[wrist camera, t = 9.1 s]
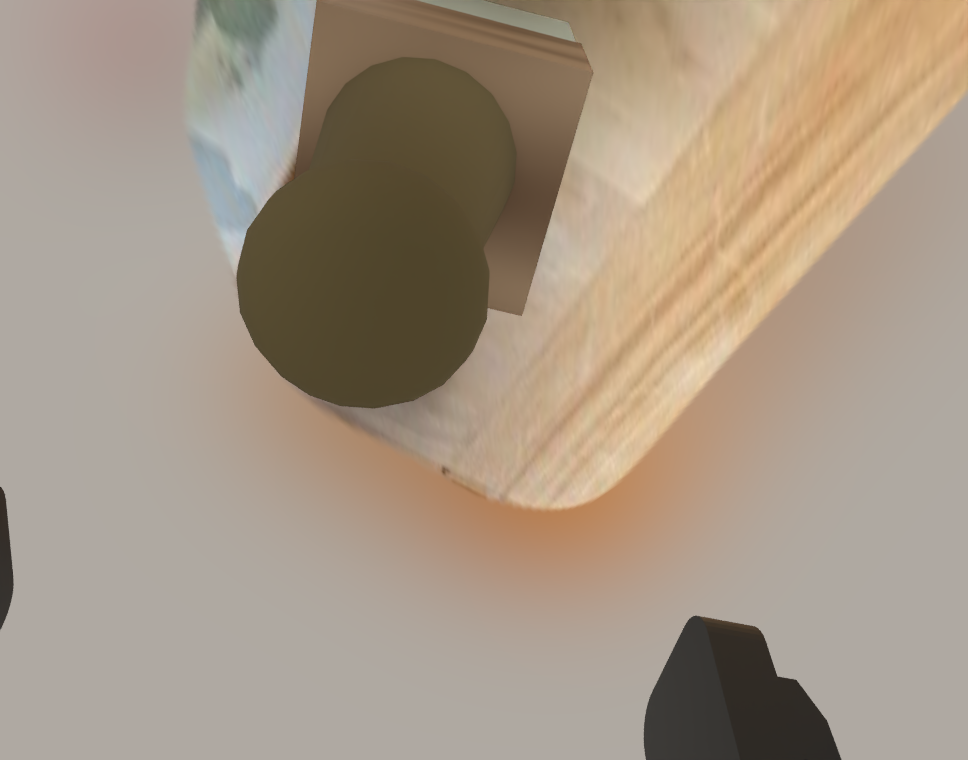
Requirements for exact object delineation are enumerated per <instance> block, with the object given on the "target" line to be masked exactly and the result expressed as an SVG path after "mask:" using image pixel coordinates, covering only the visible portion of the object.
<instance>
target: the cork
mask: <svg viewBox="0 0 968 760" xmlns="http://www.w3.org/2000/svg"><path fill="white" fill-rule="evenodd" d="M516 155H517V152H516V148H515V144H514V140H513V136H512V132H511V128H510V123H509V121H508V119H507V118H506V116H505V114H504V113H503V111H502V109H501V108H500V106H499V105H498V103H497V101H496V100H495V98H494V96H493V95H492V93H490V92H489V91H488V90H487V89H486V88H485V87H483V86H482V85H481V84H480V83H479V82H478V81H476V80H475V79H474V78H473V77H472V76H471V75H469V74H468V73H467V72H465V71H463V70H460V69H458V68H456V67H453V66H451V65H448V64H446V63H444V62H441V61H439V60H436V59H426V58H411V57H400V58H397V59H393V60H389V61H386V62H382V63H379V64H375V65H371V66H370V67H368V68H367V69H366V70H364V71H363V72H361V73H360V74H358V75H357V76H356V77H354V78H353V79H351V80H350V81H349V82H347V83H346V84H345V85H344V86H343V88H342V89H341V91H340V92H339V93H338V95H337V96H336V98H335V99H334V101H333V102H332V103H331V105H330V106H329V108H328V109H327V112H326V115H325V119H324V122H323V125H322V128H321V132H320V135H319V138H318V141H317V145H316V148H315V151H314V154H313V158H312V161H311V164H310V167H309V170H307V171H305V172H304V173H302V174H301V175H299V176H298V177H297V178H295V179H294V180H292V181H291V182H289V183H288V184H286V185H285V186H283V187H282V188H280V189H279V190H277V191H276V192H275V193H274V194H273V196H272V197H271V198H270V199H269V200H268V201H267V203H266V204H265V206H264V207H263V208H262V210H261V211H260V213H259V214H258V216H257V217H256V218H255V220H254V221H253V223H252V224H251V225H250V227H249V228H248V230H247V233H246V237H245V241H244V244H243V248H242V252H241V256H240V260H239V264H238V271H237V287H238V296H239V306H240V313H241V315H242V318H243V320H244V322H245V324H246V327H247V329H248V331H249V333H250V336H251V338H252V340H253V342H254V344H255V346H256V347H257V348H258V350H259V351H260V352H261V353H262V354H263V356H264V357H265V358H266V359H267V360H268V361H269V363H270V364H271V365H272V366H273V367H274V368H275V369H276V371H277V372H278V373H279V374H280V375H281V376H282V377H283V378H285V379H286V380H288V381H289V382H291V383H292V384H294V385H295V386H297V387H298V388H299V389H301V390H302V391H304V392H305V393H307V394H308V395H311V396H313V397H316V398H319V399H322V400H325V401H328V402H331V403H334V404H337V405H339V406H348V407H362V408H379V407H384V406H389V405H394V404H399V403H404V402H409V401H414V400H415V399H417V398H419V397H421V396H423V395H425V394H427V393H428V392H430V391H432V390H434V389H436V388H438V387H440V386H441V385H443V384H444V383H445V382H446V381H447V380H448V379H449V378H450V377H451V376H452V375H453V374H454V372H455V371H456V370H457V369H458V368H459V367H460V366H461V365H462V364H463V363H464V362H465V361H466V359H467V358H468V357H469V355H470V354H471V353H472V351H473V349H474V347H475V345H476V343H477V340H478V338H479V336H480V333H481V331H482V329H483V327H484V324H485V322H486V320H487V308H488V293H489V277H490V271H489V267H488V263H487V260H486V256H485V253H484V247H485V245H486V243H487V241H488V239H489V237H490V235H491V233H492V231H493V229H494V227H495V225H496V224H497V222H498V220H499V218H500V216H501V214H502V212H503V210H504V207H505V205H506V203H507V200H508V198H509V195H510V193H511V191H512V188H513V186H514V182H515V169H516Z"/></svg>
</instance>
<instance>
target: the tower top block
mask: <svg viewBox="0 0 968 760" xmlns="http://www.w3.org/2000/svg"><path fill="white" fill-rule="evenodd" d="M400 57H411V58H426V59H436V60H439V61H441V62H444V63H446V64H448V65H451V66H453V67H456V68H458V69H460V70H463V71H465V72H467V73H468V74H469V75H471V76H472V77H473V78H474V79H475V80H476V81H478V82H479V83H480V84H481V85H482V86H483V87H485V88H486V89H487V90H488V91H489V92H490V93H492V95H493V96H494V98H495V100H496V101H497V103H498V105H499V106H500V108H501V109H502V111H503V113H504V114H505V116H506V118H507V119H508V121H509V123H510V128H511V132H512V136H513V140H514V144H515V148H516V152H517V155H516V169H515V182H514V186H513V188H512V191H511V193H510V195H509V198H508V200H507V203H506V205H505V207H504V210H503V212H502V214H501V216H500V218H499V220H498V222H497V224H496V225H495V227H494V229H493V231H492V233H491V235H490V237H489V239H488V241H487V243H486V245H485V247H484V253H485V256H486V260H487V263H488V267H489V271H490V277H489V293H488V308H490V309H495V310H499V311H503V312H508V313H512V314H516V315H521V316H522V314H523V310H524V307H525V303H526V300H527V296H528V293H529V290H530V286H531V283H532V279H533V276H534V273H535V269H536V266H537V262H538V259H539V255H540V252H541V249H542V245H543V242H544V238H545V235H546V232H547V228H548V225H549V221H550V218H551V215H552V211H553V208H554V204H555V201H556V197H557V194H558V191H559V187H560V184H561V180H562V177H563V174H564V170H565V167H566V163H567V160H568V156H569V153H570V150H571V146H572V143H573V139H574V136H575V133H576V129H577V126H578V122H579V119H580V115H581V112H582V109H583V105H584V102H585V98H586V95H587V92H588V88H589V85H590V81H591V78H592V75H593V71H592V69H591V66H590V64H589V61H588V59H587V56H586V54H585V51H584V49H583V47H582V44H581V43H577V42H573V41H569V40H566V39H562V38H558V37H554V36H550V35H547V34H543V33H539V32H535V31H531V30H528V29H524V28H520V27H516V26H512V25H509V24H505V23H501V22H497V21H493V20H489V19H486V18H482V17H478V16H474V15H470V14H467V13H463V12H459V11H455V10H451V9H448V8H444V7H440V6H436V5H432V4H429V3H425V2H421V1H417V0H317V2H316V10H315V18H314V26H313V34H312V42H311V50H310V58H309V66H308V74H307V82H306V89H305V97H304V105H303V113H302V121H301V129H300V137H299V145H298V153H297V161H296V169H295V177H294V179H295V178H297V177H298V176H299V175H301V174H302V173H304V172H305V171H307V170H309V167H310V164H311V161H312V158H313V154H314V151H315V148H316V145H317V141H318V138H319V135H320V132H321V128H322V125H323V122H324V119H325V115H326V112H327V109H328V108H329V106H330V105H331V103H332V102H333V101H334V99H335V98H336V96H337V95H338V93H339V92H340V91H341V89H342V88H343V86H344V85H345V84H346V83H347V82H349V81H350V80H351V79H353V78H354V77H356V76H357V75H358V74H360V73H361V72H363V71H364V70H366V69H367V68H368V67H370V66H371V65H375V64H379V63H382V62H386V61H389V60H393V59H397V58H400Z"/></svg>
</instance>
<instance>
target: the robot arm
mask: <svg viewBox="0 0 968 760" xmlns="http://www.w3.org/2000/svg"><path fill="white" fill-rule="evenodd" d="M12 594H13V569H12V560H11V549H10V539H9V528H8V518H7V508H6V499H5V494H4V491H3V490H2V488H1V487H0V629H1V627H2V625H3V623H4V621H5V618H6V616H7V613H8V610H9V607H10V603H11V599H12ZM644 748H645V756H646V760H841V758H840V755H839V752H838V749H837V747H836V744H835V741H834V738H833V736H832V733H831V730H830V728H829V725H828V722H827V720H826V719H825V718H824V716H823V715H822V714H821V712H820V711H819V710H818V708H817V707H816V706H815V704H814V703H813V702H812V700H811V699H810V698H809V696H808V695H807V694H806V692H805V691H804V690H803V688H802V687H801V686H800V685H799V683H798V682H797V680H794V679H788V678H782V677H777V674H776V671H775V668H774V665H773V662H772V659H771V656H770V653H769V650H768V647H767V644H766V641H765V638H764V636H763V634H762V633H761V631H760V630H759V629H758V628H756V627H755V626H749V625H744V624H738V623H733V622H728V621H722V620H717V619H711V618H706V617H700V616H693V617H691V618H690V619H689V620H688V622H687V623H686V625H685V627H684V628H683V631H682V633H681V635H680V637H679V639H678V641H677V643H676V645H675V647H674V649H673V651H672V653H671V655H670V657H669V659H668V661H667V663H666V665H665V667H664V669H663V671H662V673H661V675H660V677H659V680H658V681H657V684H656V686H655V687H654V689H653V692H652V694H651V696H650V699H649V702H648V706H647V710H646V715H645V723H644Z"/></svg>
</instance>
